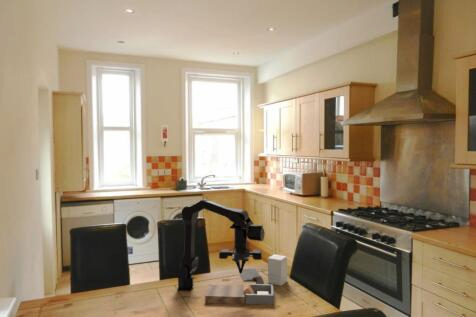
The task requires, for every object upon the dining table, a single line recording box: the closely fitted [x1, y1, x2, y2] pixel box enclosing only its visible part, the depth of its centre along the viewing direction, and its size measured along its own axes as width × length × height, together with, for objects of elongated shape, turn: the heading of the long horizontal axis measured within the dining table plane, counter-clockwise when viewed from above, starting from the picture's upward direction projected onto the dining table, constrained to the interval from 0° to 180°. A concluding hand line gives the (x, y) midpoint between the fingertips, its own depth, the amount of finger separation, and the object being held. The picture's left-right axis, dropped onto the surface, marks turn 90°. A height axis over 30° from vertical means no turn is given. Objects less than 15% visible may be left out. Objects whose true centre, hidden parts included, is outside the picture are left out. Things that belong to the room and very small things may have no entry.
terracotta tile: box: [243, 283, 256, 294], centre depth 160 cm, size 5×5×2 cm
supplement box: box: [267, 253, 288, 287], centre depth 178 cm, size 7×7×13 cm
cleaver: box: [239, 268, 265, 284], centre depth 182 cm, size 29×10×2 cm, turn 10°
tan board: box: [204, 284, 246, 305], centre depth 161 cm, size 17×12×3 cm
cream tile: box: [256, 291, 269, 294], centre depth 160 cm, size 5×5×2 cm
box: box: [245, 283, 275, 306], centre depth 160 cm, size 12×12×4 cm
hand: (240, 273), depth 161 cm, fingers closed
